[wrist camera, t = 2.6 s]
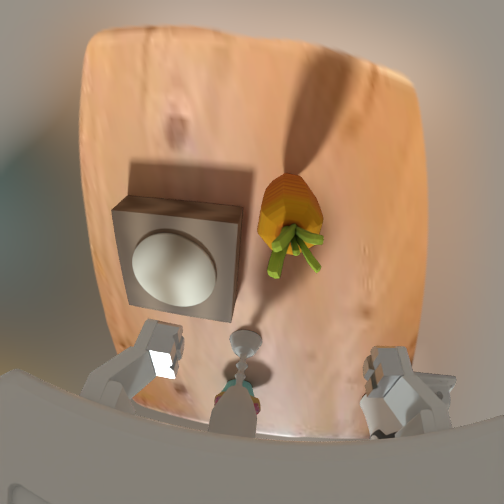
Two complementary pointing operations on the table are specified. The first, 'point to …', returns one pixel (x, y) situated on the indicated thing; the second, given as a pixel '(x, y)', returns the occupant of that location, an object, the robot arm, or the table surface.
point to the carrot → (290, 222)
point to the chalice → (237, 393)
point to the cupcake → (247, 386)
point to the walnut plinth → (179, 255)
